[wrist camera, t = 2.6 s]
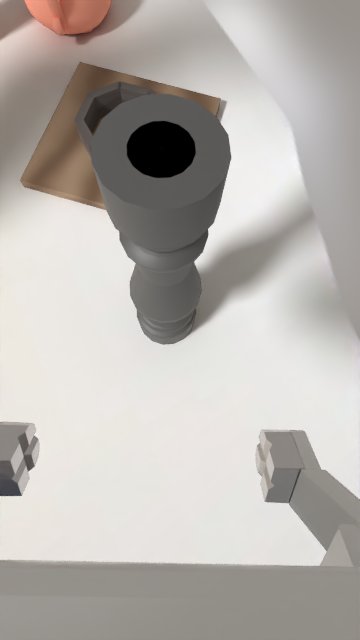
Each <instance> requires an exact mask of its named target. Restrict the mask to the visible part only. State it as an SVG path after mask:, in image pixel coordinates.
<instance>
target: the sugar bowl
mask: <svg viewBox="0 0 360 640" xmlns="http://www.w3.org/2000/svg"><path fill="white" fill-rule="evenodd" d="M111 1H112V0H25V3H26V6H27V8H28V10H29V11H30V13H31V14H32V15H33V16H34V17H35V18H36V19H37V20H38V21H39V22H40V23H42V24H43V25H45V26H46V27H48V28H49V29H51V30H53V31H54V32H55V33H56V34H58V35H64V34H79V33H83V32H85V33H89V32H91V31H92V30H93V28H95V27H96V26H98V25H99V24H100V23H101V22H102V20H103V19H104V17H105V16H106V14H107V12H108V10H109V8H110V5H111Z"/></svg>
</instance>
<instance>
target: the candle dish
mask: <svg viewBox="0 0 360 640" xmlns="http://www.w3.org/2000/svg"><path fill="white" fill-rule="evenodd" d="M159 94H172V95H175V96H179V97H182V98H186V99H189V100H193V101H196V102H197V103H198V104H200V105H201V106H203V107H204V108H205V109H207V110H208V111H210V112H211V113H213V114H214V115H215V116H216V115H217V112H218V109H219V105H220V98H216V97H212V96H208V95H204V94H201V93H197V92H193V91H189V90H185V89H181V88H178V87H174V86H170V85H166V84H162V83H158V82H154V81H151V80H147V79H143V78H139V77H135V76H131V75H128V74H124V73H120V72H116V71H112V70H108V69H105V68H101V67H97V66H93V65H89V64H85V63H81V62H80V63H79V65H78V67H77V69H76V71H75V73H74V75H73V77H72V79H71V81H70V83H69V85H68V87H67V89H66V91H65V93H64V95H63V97H62V99H61V101H60V103H59V105H58V107H57V109H56V111H55V112H54V114H53V116H52V118H51V120H50V122H49V124H48V126H47V128H46V130H45V132H44V134H43V136H42V138H41V140H40V142H39V144H38V146H37V148H36V150H35V152H34V154H33V156H32V158H31V160H30V162H29V164H28V166H27V168H26V170H25V172H24V174H23V175H22V177H21V179H20V181H21V183H22V184H23V186H24V187H27V188H30V189H34V190H37V191H41V192H44V193H48V194H52V195H55V196H59V197H62V198H66V199H69V200H73V201H76V202H80V203H83V204H87V205H91V206H94V207H98V208H101V209H105V210H106V208H105V205H104V201H103V198H102V195H101V192H100V189H99V185H98V182H97V179H96V176H95V173H94V170H93V166H92V163H91V140H92V138H93V136H94V134H95V132H96V130H97V128H98V126H99V124H100V122H101V120H102V119H103V118H104V117H105V116H106V115H107V114H108V113H110V112H111V111H112V110H113V109H114V108H116V107H117V106H118V105H119V104H121V103H123V102H126V101H129V100H132V99H134V98H137V97H140V96H143V95H159Z"/></svg>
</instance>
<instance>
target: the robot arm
mask: <svg viewBox="0 0 360 640" xmlns="http://www.w3.org/2000/svg"><path fill="white" fill-rule="evenodd" d="M35 432H36V428H35V425H34V424H33V423H20V422H0V496H22V494H23V492H24V490H25V487H26V485H27V483H28V481H29V474H28V471H30V470H31V469H32V468H33V467H35V464H36V462H37V459H38V455H39V440H38V438H36V437H35V436H34V434H35ZM259 439H260V443H259V444H258V445H257V448H256V466H257V471H258V473H259V474H260V475H261V476H262V480H261V488H262V492H263V496H264V501H265V502H276V503H289V505H290V506H291V508H292V509H293V510H294V511H295V512H296V514H297V515H298V516H299V517H300V519H301V520H302V521H303V522H304V524H305V525H306V526H307V527H308V529H309V530H310V531H311V532H312V533H313V535H314V536H315V537H316V538H317V540H318V541H319V542H320V543H321V545H322V546H323V547H324V548H325V550H326V551H327V552H326V554H325V556H324V558H323V560H322V562H321V564H320V566H290V565H240V564H190V563H140V562H87V561H36V560H0V640H360V499H358V498H357V497H356V496H355V495H354V494H353V493H351V492H350V491H349V490H348V489H347V488H346V487H345V486H343V485H342V484H341V483H340V482H339V481H338V480H336V479H335V478H334V477H333V476H332V475H331V474H330V473H328V472H327V471H326V470H321V468H320V466H319V463H318V461H317V459H316V456H315V454H314V452H313V449H312V447H311V445H310V442H309V440H308V438H307V435H306V433H305V432H304V431H303V430H261V431H260V435H259Z"/></svg>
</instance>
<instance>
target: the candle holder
mask: <svg viewBox="0 0 360 640" xmlns="http://www.w3.org/2000/svg"><path fill="white" fill-rule="evenodd" d="M230 160H231V152H230V145H229V138H228V134H227V133H226V131H225V129H224V128H223V126H222V125H221V123H220V122H219V120H218V119H217V117H216V116H215V115H214V114H213V113H211V112H210V111H208V110H207V109H205V108H204V107H203V106H201V105H200V104H198V103H197V102H196V101H193V100H189V99H186V98H182V97H179V96H175V95H172V94H159V95H143V96H140V97H137V98H134V99H132V100H129V101H126V102H123V103H121V104H119V105H118V106H117V107H116V108H114V109H113V110H112V111H111V112H110V113H108V114H107V115H106V116H105V117H104V118H103V119H102V120H101V122H100V124H99V126H98V128H97V130H96V132H95V134H94V136H93V138H92V140H91V163H92V166H93V170H94V173H95V176H96V179H97V182H98V185H99V189H100V192H101V195H102V198H103V201H104V205H105V208H106V210H107V212H108V214H109V216H110V218H111V220H112V222H113V224H114V226H115V228H116V229H117V230H119V233H120V242H121V244H122V246H123V248H124V250H125V252H126V253H127V255H128V257H129V258H130V259H132V260H133V261H134V262H135V263H136V264H135V268H134V271H133V274H132V277H131V280H130V296H131V298H132V300H133V303H134V305H135V307H136V309H137V318H138V320H139V323H140V326H141V328H142V330H143V332H144V334H145V335H146V336H147V337H149V338H150V339H151V340H152V341H154V342H157V343H160V344H174V343H176V342H178V341H180V340H182V339H184V338H185V337H186V336H187V334H188V333H189V332H190V331H191V328H192V325H193V322H194V319H195V315H196V306H197V304H198V301H199V298H200V295H201V281H200V276H199V274H198V271H197V269H196V266H195V264H194V261H195V260H196V259H197V258H198V257H199V256H200V254H201V253H202V252H203V250H204V247H205V244H206V241H207V238H208V228H209V227H210V226H211V225H212V224H213V223H214V220H215V217H216V214H217V211H218V208H219V205H220V202H221V198H222V193H223V189H224V185H225V181H226V177H227V173H228V169H229V165H230Z"/></svg>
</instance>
